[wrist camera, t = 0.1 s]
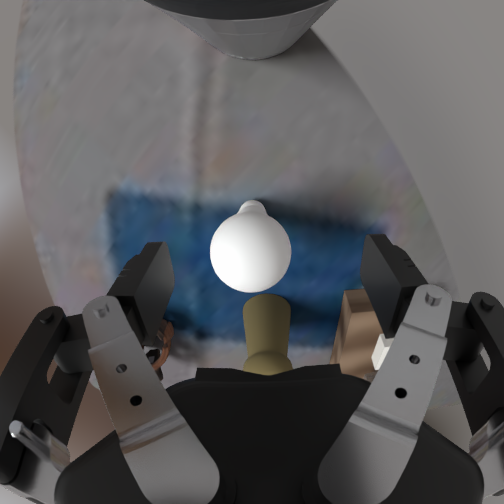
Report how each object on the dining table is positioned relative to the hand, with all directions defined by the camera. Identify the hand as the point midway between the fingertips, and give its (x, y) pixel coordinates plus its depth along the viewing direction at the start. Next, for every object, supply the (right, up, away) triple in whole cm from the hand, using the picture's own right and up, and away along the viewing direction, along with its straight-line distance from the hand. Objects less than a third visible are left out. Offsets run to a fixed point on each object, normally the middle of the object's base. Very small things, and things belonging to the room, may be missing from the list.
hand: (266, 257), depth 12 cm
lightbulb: (0, +5, +18) cm, 18 cm away
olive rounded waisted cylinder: (+1, -7, +25) cm, 26 cm away
